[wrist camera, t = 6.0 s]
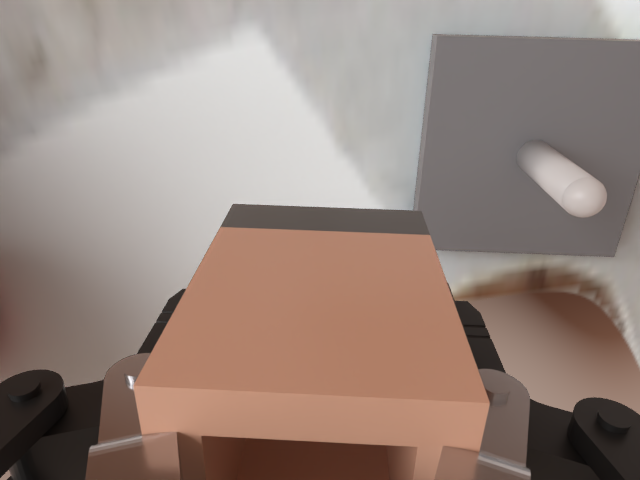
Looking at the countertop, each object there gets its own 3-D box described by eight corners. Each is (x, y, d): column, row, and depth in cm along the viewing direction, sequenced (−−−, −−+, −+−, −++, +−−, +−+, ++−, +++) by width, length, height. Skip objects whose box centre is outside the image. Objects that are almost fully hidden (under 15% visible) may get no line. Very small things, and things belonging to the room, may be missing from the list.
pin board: (410, 238, 32) (432, 317, 24) (432, 34, 27) (470, 48, 19) (602, 245, 32) (689, 328, 24) (663, 40, 26) (800, 57, 18)
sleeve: (241, 354, 16) (170, 596, 9) (233, 204, 13) (132, 385, 7) (403, 362, 15) (443, 613, 9) (421, 210, 13) (489, 403, 7)
